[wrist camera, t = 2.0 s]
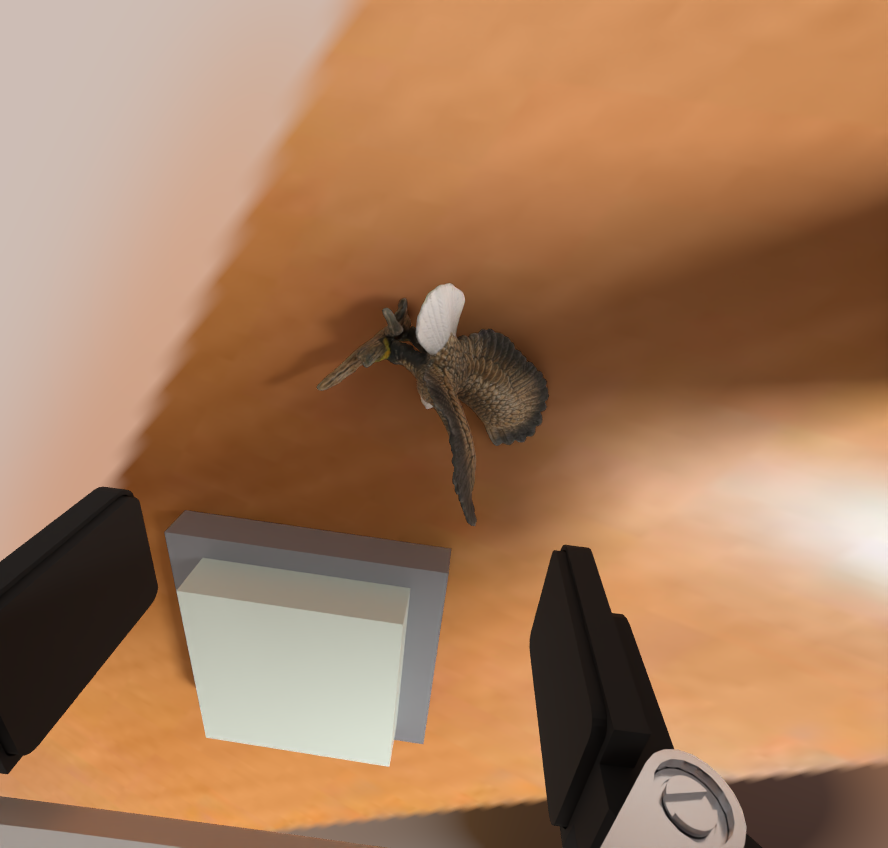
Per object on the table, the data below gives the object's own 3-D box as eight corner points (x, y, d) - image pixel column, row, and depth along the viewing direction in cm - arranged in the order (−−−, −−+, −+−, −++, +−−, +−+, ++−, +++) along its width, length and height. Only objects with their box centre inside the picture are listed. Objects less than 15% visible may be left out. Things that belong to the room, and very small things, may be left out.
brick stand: (451, 543, 28) (444, 609, 23) (427, 709, 35) (418, 784, 31) (189, 505, 28) (133, 563, 24) (218, 676, 36) (179, 746, 31)
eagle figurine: (322, 400, 23) (456, 526, 23) (304, 370, 16) (497, 550, 16) (429, 295, 24) (553, 415, 25) (456, 223, 17) (628, 394, 18)
